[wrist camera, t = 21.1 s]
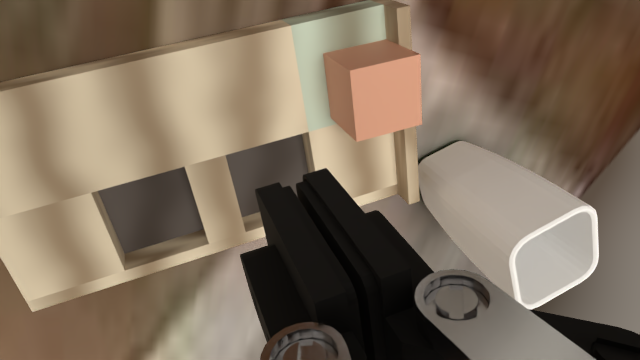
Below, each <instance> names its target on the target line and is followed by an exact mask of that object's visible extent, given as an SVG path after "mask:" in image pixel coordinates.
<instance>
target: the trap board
mask: <svg viewBox="0 0 640 360" xmlns="http://www.w3.org/2000/svg"><path fill="white" fill-rule="evenodd" d="M385 39H387V40H389V41H391V42H394V43H396V44H398V45H400V46H403V47H405V48H407V49H410V50H412V39H411V19H410V6H409V5H406V4H403V3H399V2H396V1H392V0H367V1H362V2H358V3H353V4H349V5H344V6H340V7H335V8H331V9H326V10H322V11H317V12H313V13H308V14H304V15H299V16H295V17H290V18H286V19H282V20H277V21H273V22H268V23H264V24H259V25H255V26H250V27H246V28H241V29H237V30H232V31H228V32H223V33H219V34H214V35H210V36H205V37H201V38H196V39H192V40H187V41H183V42H178V43H174V44H170V45H165V46H161V47H156V48H152V49H147V50H143V51H138V52H134V53H129V54H125V55H120V56H116V57H111V58H107V59H102V60H98V61H93V62H89V63H84V64H80V65H75V66H71V67H66V68H62V69H57V70H53V71H49V72H44V73H40V74H35V75H31V76H26V77H22V78H17V79H13V80H8V81H4V82H0V258H1V259H2V261H3V263H4V264H5V266H6V268H7V269H8V271H9V273H10V275H11V276H12V278H13V280H14V281H15V283H16V285H17V287H18V288H19V290H20V292H21V293H22V295H23V297H24V299H25V300H26V302H27V304H28V305H29V307H30V309H31V310H32V312H34V311H37V310H40V309H43V308H46V307H49V306H53V305H56V304H59V303H62V302H65V301H68V300H71V299H74V298H77V297H80V296H83V295H87V294H90V293H93V292H96V291H99V290H102V289H105V288H108V287H111V286H114V285H117V284H121V283H124V282H127V281H130V280H133V279H136V278H139V277H142V276H145V275H148V274H152V273H155V272H158V271H161V270H164V269H167V268H170V267H173V266H176V265H179V264H182V263H186V262H189V261H192V260H195V259H198V258H201V257H204V256H207V255H210V254H213V253H217V252H220V251H223V250H226V249H229V248H232V247H235V246H238V245H241V244H244V243H247V242H251V241H254V240H257V239H260V238H263V237H266V235H265V231H264V227H263V223H262V218H261V214H260V210H259V206H258V202H257V198H256V193H255V189H257V188H261V187H264V186H267V185H271V184H274V183H277V182H279V183H280V184H281V186H282V188H283V187H286V186H291V188H292V189H293V191H294V193H295V194H296V196H297V191H296V183H299V182H302V181H303V175H304V174H307V173H311V172H314V171H317V170H321V169H324V168H327V169H328V170H329V171H330V172H331V174H332V175H333V176H334V177H335V178H336V180H337V181H338V182H339V183H340V184H341V186H342V187H343V188H344V189H345V190H346V191H347V193H348V194H349V195H350V196H351V197H352V199H353V200H354V201H355V202H356V203H357V205H358V206H362V205H365V204H368V203H371V202H374V201H377V200H381V199H384V198H387V197H390V196H393V195H396V194H399V195H400V196H401V197H402V198H403V199H404V200H405V201H406V202H407V203H408V204H409V205H410V204H413V203H416V202H419V201H420V197H419V177H418V157H417V138H416V126H414V127H411V128H407V129H403V130H399V131H396V132H392V133H388V134H385V135H381V136H377V137H374V138H370V139H366V140H362V141H359V142H356V141H355V140H354V139H353V138H352V137H351V136H350V135H349V134H347V133H346V132H345V131H344V130H343V129H342V128H341V127H340V126H339V125H338V124H337V123H336V122H335V121H334V120H332V119H331V116H330V107H329V99H328V91H327V82H326V74H325V66H324V57H323V53H326V52H331V51H335V50H340V49H345V48H349V47H354V46H358V45H363V44H367V43H372V42H376V41H381V40H385ZM297 197H298V196H297Z"/></svg>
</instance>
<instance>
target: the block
mask: <svg viewBox="0 0 640 360" xmlns="http://www.w3.org/2000/svg"><path fill="white" fill-rule="evenodd" d="M323 57H324V66H325V74H326V82H327V91H328V99H329V107H330V116H331V119H332V120H334V121H335V122H336V123H337V124H338V125H339V126H340V127H341V128H342V129H343V130H344V131H345V132H346V133H347V134H349V135H350V136H351V137H352V138H353V139H354V140H355V141H356V142H359V141H362V140H366V139H370V138H374V137H377V136H381V135H385V134H388V133H392V132H396V131H399V130H403V129H407V128H411V127H414V126H418V125H422V104H421V62H420V54H419V53H416V52H414V51H412V50H410V49H407V48H405V47H403V46H400V45H398V44H396V43H394V42H391V41H389V40H387V39H385V40H381V41H376V42H372V43H367V44H363V45H358V46H354V47H349V48H345V49H340V50H335V51H331V52H326V53H323Z"/></svg>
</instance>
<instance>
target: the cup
mask: <svg viewBox="0 0 640 360" xmlns="http://www.w3.org/2000/svg"><path fill="white" fill-rule="evenodd" d="M418 177H419V187H420V191H421V195H422V198H423V202H424V204H425V205H426V207H427V208H428V209H429V211H430V212H431V213H432V215H433V216H434V218H435V219H436V220H437V222H438V223H439V224H440V225H441V227H442V228H443V229H444V230H445V232H446V233H447V234H448V235H449V237H450V238H451V239H452V240H453V241H454V242H455V244H456V245H457V246H458V247H459V248H460V249H461V250H462V251H463V252H464V253H465V255H466V256H467V257H468V258H469V259H470V260H471V261H472V262H473V263H474V264H475V265H476V266H477V267H478V268H479V269H480V270H481V271H482V272H483V273H484V274H485V275H486V277H487V278H488V279H489V280H490V281H491V282H492V283H494V284H495V285H496V286H497V287H499V288H500V289H501V290H503V291H504V292H505V293H507V294H508V295H509V296H511V297H512V298H513V299H515V300H516V301H517V302H519V303H520V304H522V305H523V306H524V307H526V308H527V309H530V310H531V309H534V308H536V307H539V306H541V305H542V304H544V303H546V302H547V301H549V300H551V299H553V298H555V297H556V296H558V295H560V294H562V293H563V292H565V291H567V290H569V289H570V288H572V287H574V286H576V285H577V284H579V283H581V282H582V281H583V280H585V279H586V278H588V277H589V276H590V275H591V273H592V272H593V271H594V269H595V268H596V266H597V264H598V258H599V246H598V219H597V213H596V210H595V209H594V208H593V207H591V206H590V205H588V204H586V203H585V202H583V201H581V200H580V199H578V198H577V197H575V196H573V195H572V194H570V193H568V192H567V191H565V190H563V189H562V188H560V187H558V186H557V185H555V184H553V183H552V182H550V181H548V180H546V179H544V178H543V177H541V176H539V175H537V174H536V173H534V172H532V171H530V170H528V169H526V168H524V167H522V166H520V165H518V164H517V163H515V162H513V161H511V160H509V159H507V158H505V157H502V156H500V155H498V154H496V153H493V152H491V151H489V150H486V149H484V148H481V147H479V146H476V145H473V144H471V143H468V142H465V141H458V142H455V143H453V144H451V145H449V146H447V147H445V148H444V149H442V150H440V151H438V152H436V153H434V154H432V155H430V156H428V157H426V158H425V159H423V160H422V161H421V162H420V164H419V165H418Z"/></svg>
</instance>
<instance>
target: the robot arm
mask: <svg viewBox="0 0 640 360" xmlns="http://www.w3.org/2000/svg"><path fill="white" fill-rule="evenodd" d="M296 191H297V196H298V197H297V196H296V194H295V193H294V191H293V189H292V188H291V186H286V187H283V188H282V186H281V184H280V183H279V182H277V183H274V184H271V185H267V186H264V187H261V188H257V189H255V193H256V198H257V202H258V206H259V210H260V214H261V218H262V223H263V227H264V231H265V235H266V239H267V243H268V246H265V247H262V248H259V249H256V250H253V251H249V252H246V253H243V254H240V257H241V261H242V265H243V268H244V272H245V276H246V279H247V283H248V286H249V289H250V293H251V296H252V299H253V302H254V306H255V309H256V312H257V315H258V318H259V321H260V324H261V326H262V329H263V332H264V335H265V338H266V341H267V344H266V345H265V347H264V349H263V351H262V354H261V358H260V360H640V334H639V335H638V334H636V333H634V332H632V331H629V330H626V329H622V328H619V327H615V326H610V325H605V324H600V323H594V322H590V321H585V320H580V319H575V318H570V317H564V316H560V315H555V314H550V313H545V312H540V311H535V310H530V309H527V308H526V307H524V306H523V305H522V304H520V303H519V302H517V301H516V300H515V299H513V298H512V297H511V296H509V295H508V294H507V293H505V292H504V291H503V290H501V289H500V288H499V287H497V286H496V285H494V284H493V283H492V282H490V281H489V280H488V279H486V278H484V277H482V276H481V275H479V274H477V273H473V272H470V271H467V270H458V269H449V270H441V271H438V272H435V273H434V272H433V271H432V269H431V268H430V267H429V266H428V265H427V264H426V263H425V262H424V261H423V259H422V258H421V257H420V256H419V255H418V254H417V253H416V252H415V250H414V249H413V248H412V247H411V246H410V245H409V244H408V243H407V242H406V240H405V239H404V238H403V237H402V236H401V235H400V234H399V233H398V232H397V230H396V229H395V228H394V227H393V226H392V225H391V224H390V223H389V221H388V220H387V219H386V218H385V217H384V216H383V215H382V214H381V213H380V212H379V211H376V210H375V211H372V212H369V213H364V212H363V211H362V209H361V208H360V207H359V206H358V205H357V203H356V202H355V201H354V200H353V199H352V197H351V196H350V195H349V194H348V193H347V191H346V190H345V189H344V188H343V187H342V186H341V184H340V183H339V182H338V181H337V180H336V178H335V177H334V176H333V175H332V174H331V172H330V171H329V170H328V169H327V168H324V169H321V170H317V171H314V172H311V173H307V174H304V175H303V181H302V182H299V183H296Z"/></svg>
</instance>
